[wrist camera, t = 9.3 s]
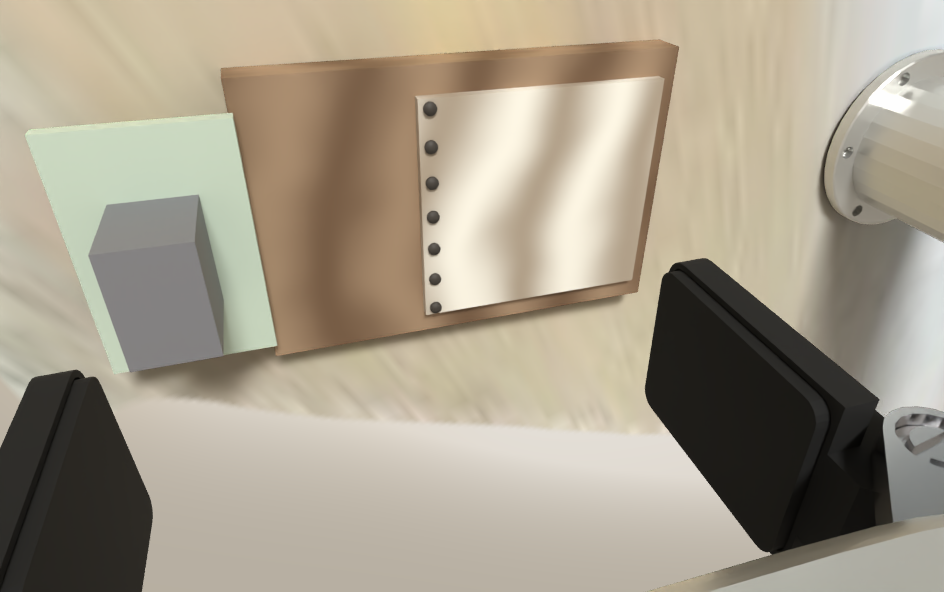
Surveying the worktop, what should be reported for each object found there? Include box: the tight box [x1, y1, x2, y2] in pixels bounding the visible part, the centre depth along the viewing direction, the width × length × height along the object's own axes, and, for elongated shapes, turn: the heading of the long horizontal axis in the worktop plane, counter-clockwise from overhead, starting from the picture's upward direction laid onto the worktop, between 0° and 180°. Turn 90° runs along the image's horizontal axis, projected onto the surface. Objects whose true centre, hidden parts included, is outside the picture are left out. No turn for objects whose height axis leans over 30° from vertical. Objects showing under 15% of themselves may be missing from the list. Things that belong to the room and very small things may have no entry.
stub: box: [25, 113, 277, 374], centre depth 30 cm, size 8×13×6 cm, turn 0°
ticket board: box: [221, 40, 679, 356], centre depth 38 cm, size 24×16×3 cm, turn 90°
